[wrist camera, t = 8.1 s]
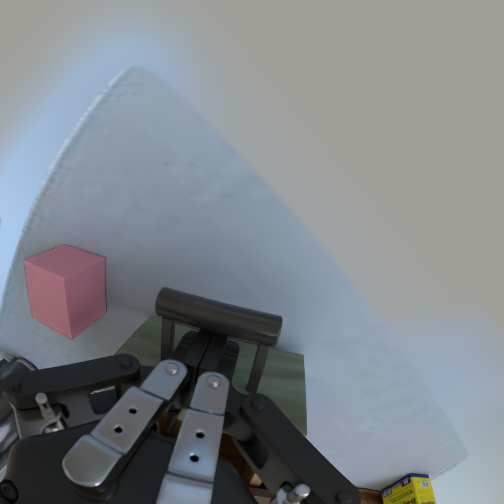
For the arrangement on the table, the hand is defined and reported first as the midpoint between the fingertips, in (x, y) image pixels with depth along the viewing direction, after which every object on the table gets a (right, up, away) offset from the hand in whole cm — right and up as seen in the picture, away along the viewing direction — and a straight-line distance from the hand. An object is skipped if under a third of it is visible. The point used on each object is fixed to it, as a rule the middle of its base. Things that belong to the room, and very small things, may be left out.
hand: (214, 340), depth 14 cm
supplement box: (+26, -31, +10) cm, 41 cm away
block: (-12, +3, +6) cm, 14 cm away
